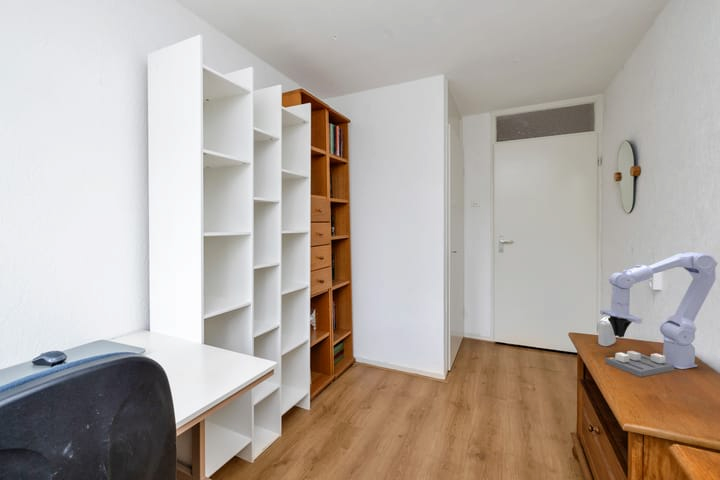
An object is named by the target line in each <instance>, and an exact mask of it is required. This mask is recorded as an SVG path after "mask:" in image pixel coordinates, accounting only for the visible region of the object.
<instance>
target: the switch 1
mask: <svg viewBox="0 0 720 480" xmlns="http://www.w3.org/2000/svg"><path fill="white" fill-rule="evenodd" d="M614 357H615V359H616V360H618V361H621V362H629V359H630V355H627V353H624V352H616V353H615V355H614Z"/></svg>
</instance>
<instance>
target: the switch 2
mask: <svg viewBox="0 0 720 480" xmlns="http://www.w3.org/2000/svg"><path fill="white" fill-rule="evenodd" d="M650 357H651V361H654V362H657V363H665V358H666V356H663V354H660V353H656V352H655V353H651V354H650Z"/></svg>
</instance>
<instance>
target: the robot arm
mask: <svg viewBox="0 0 720 480" xmlns="http://www.w3.org/2000/svg"><path fill="white" fill-rule="evenodd" d="M717 266H718V262H717V261H716V259H715V258H714V257H713V256H712V255H711V254H709V253H702V252H701V253H700V252H691V251H683V252H681V253H677V254H674V255H672V256H669V257H668V258H665V259H663V260H660V261H657V262H654V263H653V264H650V265H646V264H635V265H634V267H632V268H630V269H623V270H622V271H621V272H613V274H611V275H610V277H609V278H608V282H609V283H610V285H611V295H610V296H611V298H610V309H604V308H602V309H601V308H599V309H600V310H599V314H601V315H605V316H607V317H610V318H608V320H609V322H610V323H611V325H612V328H613V331H614V335H615V336H616V337H618V338H624V337H625V333H626V331H627V330H628V328H629V327H630V325H631V324H632V323H635V324H638V325H640V324H642V323H643V321H642V318H641V317H639V316H635V315H633V314H630V298H631V288H632V287H633V286H634V285H635V284H638V283H641V282H645V281H647V280H650V279H652V278H653V276H654V274H657V273H660V272H664V271H668V270H672V269H674V268H683V269H684V270H686V271H687V272H688V274H690V276H691V277H692V280H691V282H690V284H689V286H688V288H687V289H686V291H685V294H683V295H684V296H683V297H682V299H681V302H680V304H679V305H678V307H677V309H676V311H675V313H674V314H673V315H671V316H669V317H667V319H666V321H664V322H662V323H661V324H660V326H659V331H660V333H661V334H662V335H663V347H662V349H663V351H662V355H663V356H666V358H665V362H666V363H669V364H672V365H674V369H675V368H676V369H679V370H686V369H690V368H696V367H697V368H698V365H697V364H695V357H696V349H695V346H694V345H693V344H692V343H693V342H694V341H695V340H696V339H695V338H696V335H695V334H696V331H697V326H696V324H695V323H694V322H695V320H696V318H697V315H698V314H699V312H700V311H701V308H702V306H703V304H704V302H705V301H706V299H707V297H708V295H709V293H710V292H711V289H712V287H713V285H714V283H715V282H716V279H717V275H716V268H717Z"/></svg>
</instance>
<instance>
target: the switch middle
mask: <svg viewBox="0 0 720 480" xmlns="http://www.w3.org/2000/svg"><path fill="white" fill-rule="evenodd" d="M626 354H627V355H630V359H632V360H635V361H636V360H641V354H642V353H641V352H638V351H634V350H628V351H626Z"/></svg>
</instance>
